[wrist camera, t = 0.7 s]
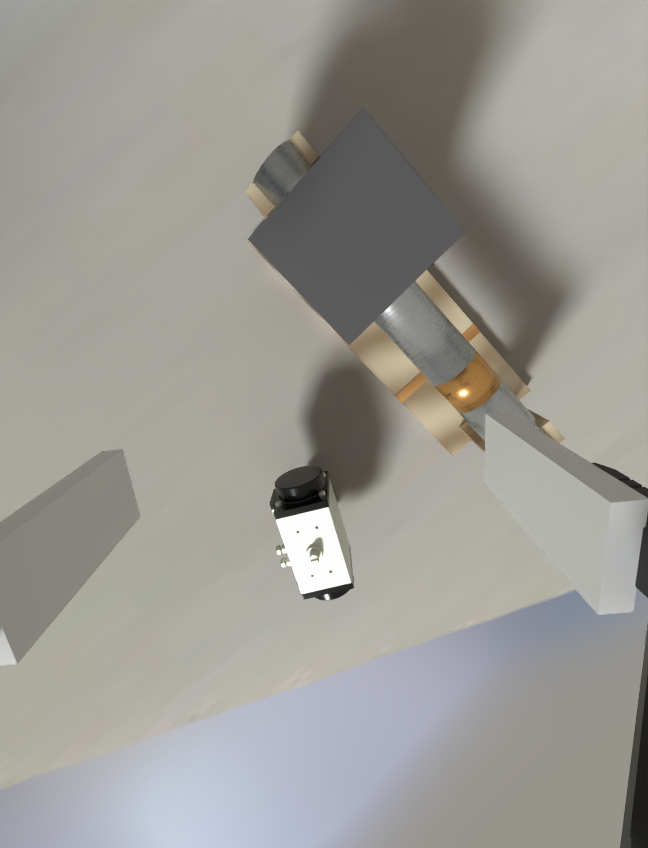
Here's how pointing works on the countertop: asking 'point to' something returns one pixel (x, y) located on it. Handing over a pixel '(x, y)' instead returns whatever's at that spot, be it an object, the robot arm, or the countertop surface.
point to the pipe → (417, 324)
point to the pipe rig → (401, 371)
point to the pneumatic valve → (312, 533)
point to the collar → (356, 229)
